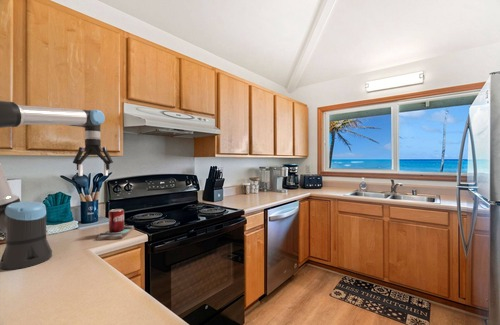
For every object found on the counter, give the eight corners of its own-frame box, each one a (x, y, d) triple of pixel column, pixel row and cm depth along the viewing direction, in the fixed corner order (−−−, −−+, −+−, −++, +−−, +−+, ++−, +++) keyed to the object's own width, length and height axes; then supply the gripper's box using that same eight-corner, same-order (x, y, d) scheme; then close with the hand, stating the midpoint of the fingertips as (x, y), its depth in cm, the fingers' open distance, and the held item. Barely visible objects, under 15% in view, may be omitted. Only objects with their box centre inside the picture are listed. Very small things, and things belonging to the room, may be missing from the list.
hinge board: (96, 240, 117) (96, 235, 117) (112, 229, 134) (112, 225, 134) (121, 239, 118) (121, 234, 118) (134, 228, 136) (134, 224, 136)
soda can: (127, 229, 130) (126, 208, 129) (118, 234, 122) (118, 211, 122) (115, 229, 130) (114, 208, 130) (105, 233, 123) (105, 211, 123)
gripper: (118, 139, 138) (119, 174, 138) (73, 139, 135) (73, 175, 135) (113, 138, 130) (113, 175, 131) (64, 138, 127) (65, 176, 127)
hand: (93, 175), depth 133 cm, fingers open, 13 cm apart
